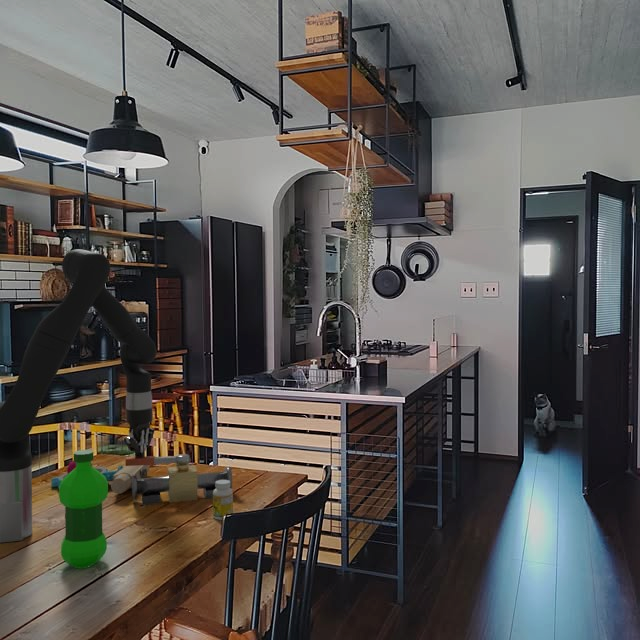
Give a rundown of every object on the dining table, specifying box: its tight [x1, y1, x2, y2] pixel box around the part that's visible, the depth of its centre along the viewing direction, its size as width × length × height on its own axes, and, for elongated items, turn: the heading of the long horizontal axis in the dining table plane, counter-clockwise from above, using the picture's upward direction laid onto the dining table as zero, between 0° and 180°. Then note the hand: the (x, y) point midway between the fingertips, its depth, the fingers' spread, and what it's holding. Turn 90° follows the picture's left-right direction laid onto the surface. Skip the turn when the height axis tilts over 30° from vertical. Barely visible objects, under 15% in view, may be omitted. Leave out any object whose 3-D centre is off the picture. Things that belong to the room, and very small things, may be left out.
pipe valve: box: [131, 462, 233, 505], centre depth 181 cm, size 28×7×10 cm, turn 108°
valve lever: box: [125, 453, 190, 466], centre depth 179 cm, size 18×4×2 cm, turn 101°
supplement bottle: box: [212, 480, 234, 521], centre depth 165 cm, size 5×5×10 cm
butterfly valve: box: [50, 464, 151, 494], centre depth 192 cm, size 27×7×30 cm
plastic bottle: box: [58, 449, 109, 569], centre depth 136 cm, size 10×10×25 cm
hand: (140, 464), depth 182 cm, fingers closed
